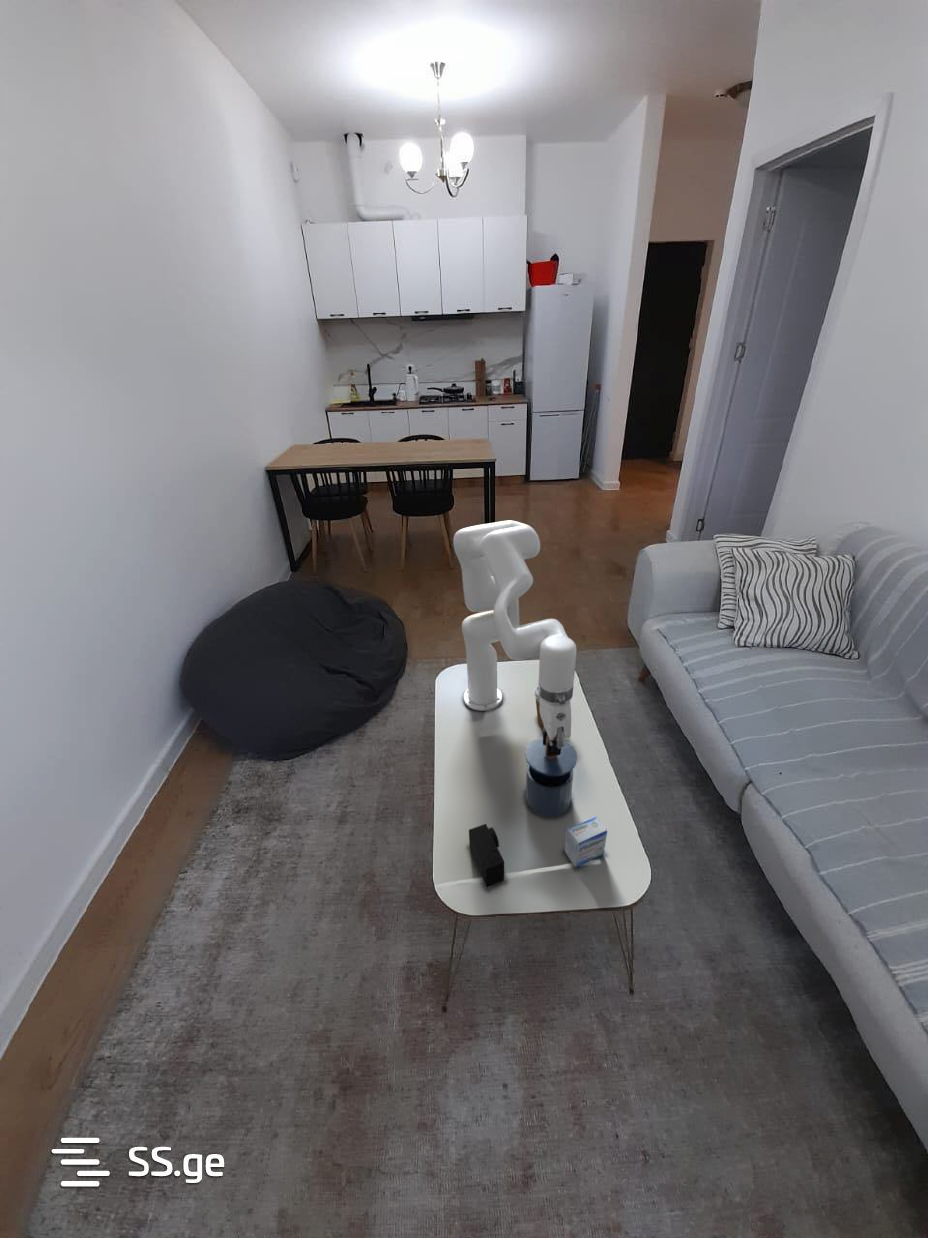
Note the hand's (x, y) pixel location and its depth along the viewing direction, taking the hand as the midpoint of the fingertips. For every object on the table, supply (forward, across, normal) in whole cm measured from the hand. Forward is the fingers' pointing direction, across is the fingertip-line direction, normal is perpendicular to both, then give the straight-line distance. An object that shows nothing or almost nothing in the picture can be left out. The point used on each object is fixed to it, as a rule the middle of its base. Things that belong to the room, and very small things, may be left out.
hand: (551, 748), depth 118 cm
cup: (+18, 0, 0) cm, 18 cm away
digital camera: (+18, -15, +18) cm, 30 cm away
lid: (+3, 0, 0) cm, 3 cm away
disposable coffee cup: (+18, +28, -8) cm, 34 cm away
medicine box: (+18, -16, -4) cm, 25 cm away
